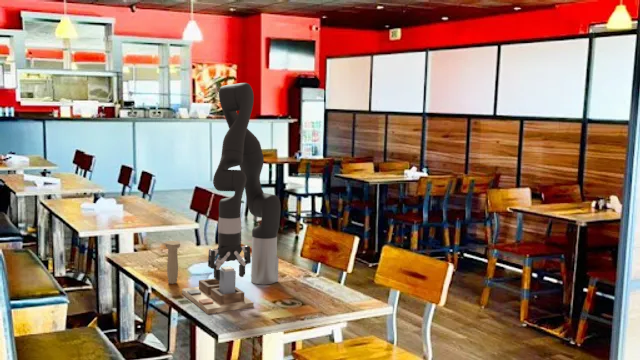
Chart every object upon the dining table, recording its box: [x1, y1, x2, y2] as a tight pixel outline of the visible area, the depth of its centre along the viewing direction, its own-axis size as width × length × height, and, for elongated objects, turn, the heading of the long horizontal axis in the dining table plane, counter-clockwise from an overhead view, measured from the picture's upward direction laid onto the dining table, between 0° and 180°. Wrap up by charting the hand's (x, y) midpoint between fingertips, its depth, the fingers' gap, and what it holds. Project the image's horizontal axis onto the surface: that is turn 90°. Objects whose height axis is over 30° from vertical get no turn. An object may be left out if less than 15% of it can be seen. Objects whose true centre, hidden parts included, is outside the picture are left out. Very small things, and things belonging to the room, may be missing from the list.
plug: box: [219, 265, 237, 294], centre depth 216 cm, size 4×4×11 cm
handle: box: [164, 240, 181, 285], centre depth 237 cm, size 5×6×15 cm
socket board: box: [181, 277, 255, 315], centre depth 220 cm, size 16×24×4 cm, turn 31°
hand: (229, 278), depth 216 cm, fingers open, 8 cm apart
